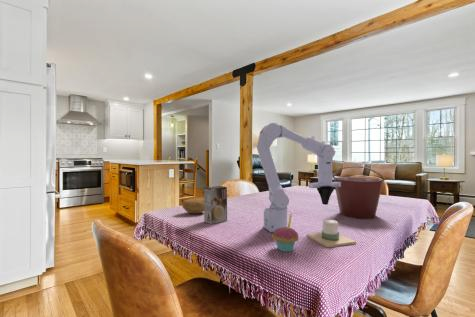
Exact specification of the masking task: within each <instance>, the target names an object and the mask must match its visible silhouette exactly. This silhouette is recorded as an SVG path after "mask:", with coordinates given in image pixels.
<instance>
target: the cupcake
mask: <svg viewBox="0 0 475 317" xmlns="http://www.w3.org/2000/svg"><path fill="white" fill-rule="evenodd" d="M292 214H293V213H290V215H289V218H288V222H287V227H283V228H277V229H276V230H275V231H273V232H272V235H271V238H272V239H273V240H274V241H275V243H276V246H277V250H279V251H281V252H285V253H287V252H291V251H293V249H294V246H295V243H296V242H298V240H299V233H298V232H297V231H296V230H295V229H294V228H292V227H291V223H292V218H293V217H292Z"/></svg>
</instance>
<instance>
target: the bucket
mask: <svg viewBox="0 0 475 317" xmlns="http://www.w3.org/2000/svg"><path fill="white" fill-rule="evenodd" d="M348 168H349V169H350V168H362V169H365V170H367V171H371V172H373V173H374V174H377V175H378V176H380V178H375V177H366V176H365V177H364V176H363V177H359V176H358V177H357V176H340V177H338V176H337V175H338V174H339V173H340V172H341V171H342V170H345V169H348ZM335 176H337V177H335ZM332 179H334V180H333V182H341V187H334V189H335V193H336V200H337V204H338V209H339V213H340V214H341V215H342V216H343V217H347V218H352V219H358V220H363V219H365V220H369V219H371V220H373V219H375V217H376V215H377V210H378V205H379V202H380V201H379V200H380V197H381V192H382V187H383V182H385V181H386V178H385V176H384V175H383V174H382V173H380V172H379V171H377V170H374V169H372V168H369V167H367V166H359V165H358V166H357V165H354V166H344V167H340V168H338V169H337V171H335V172H332Z"/></svg>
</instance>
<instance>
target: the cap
mask: <svg viewBox="0 0 475 317" xmlns="http://www.w3.org/2000/svg"><path fill="white" fill-rule="evenodd" d="M322 231H323V233H325V234H331V235H334V234H337V233H338V232H339V222H338V221H337V220H334V219H323V221H322Z"/></svg>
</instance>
